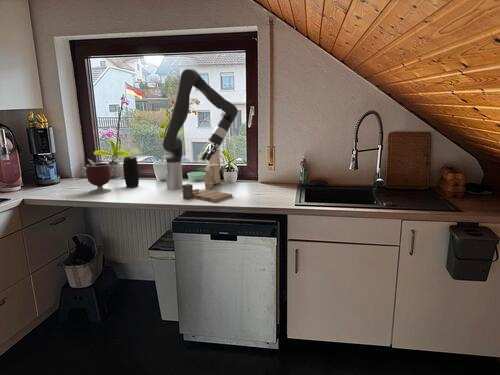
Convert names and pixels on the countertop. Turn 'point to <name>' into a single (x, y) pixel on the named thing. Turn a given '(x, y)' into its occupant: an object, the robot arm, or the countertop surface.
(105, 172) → the mate gourd
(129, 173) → the portable speaker
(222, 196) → the brown flat slatted board
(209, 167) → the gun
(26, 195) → the countertop surface
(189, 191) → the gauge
